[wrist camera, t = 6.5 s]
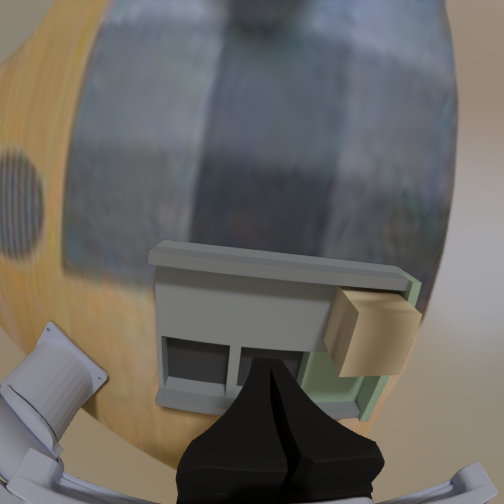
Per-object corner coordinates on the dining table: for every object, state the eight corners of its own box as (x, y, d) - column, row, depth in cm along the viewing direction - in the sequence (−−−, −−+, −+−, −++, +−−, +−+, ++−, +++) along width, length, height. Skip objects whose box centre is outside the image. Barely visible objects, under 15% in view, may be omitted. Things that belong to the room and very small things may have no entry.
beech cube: (392, 288, 19) (422, 314, 15) (376, 341, 20) (399, 374, 16) (337, 283, 19) (359, 312, 15) (323, 340, 20) (338, 377, 16)
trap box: (396, 266, 21) (421, 283, 17) (355, 393, 24) (367, 420, 20) (164, 239, 20) (146, 253, 16) (165, 379, 23) (154, 409, 20)
